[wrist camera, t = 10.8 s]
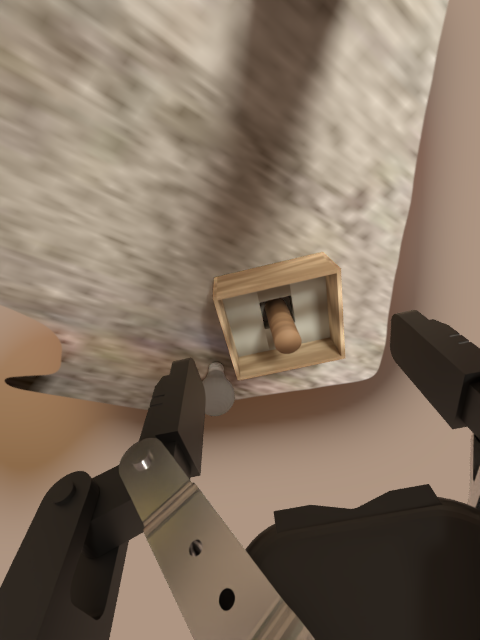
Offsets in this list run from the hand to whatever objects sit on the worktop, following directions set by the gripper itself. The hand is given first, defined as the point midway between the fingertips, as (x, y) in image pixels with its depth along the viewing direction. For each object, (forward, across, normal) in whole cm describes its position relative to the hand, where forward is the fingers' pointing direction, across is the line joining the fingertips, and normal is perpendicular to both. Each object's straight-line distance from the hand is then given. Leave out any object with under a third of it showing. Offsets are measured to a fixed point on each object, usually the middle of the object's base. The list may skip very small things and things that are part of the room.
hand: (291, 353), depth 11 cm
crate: (+30, -2, +14) cm, 33 cm away
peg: (+30, -2, +14) cm, 33 cm away
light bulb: (+30, +10, +23) cm, 39 cm away
